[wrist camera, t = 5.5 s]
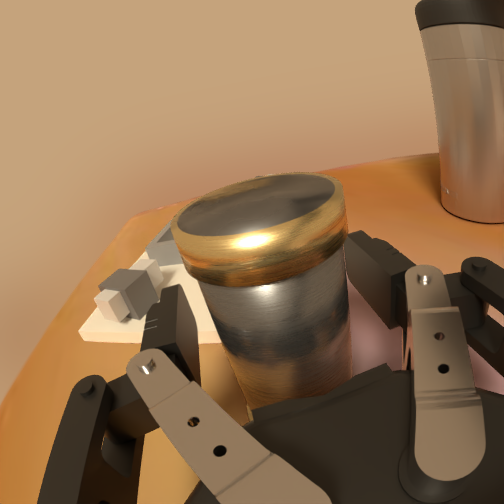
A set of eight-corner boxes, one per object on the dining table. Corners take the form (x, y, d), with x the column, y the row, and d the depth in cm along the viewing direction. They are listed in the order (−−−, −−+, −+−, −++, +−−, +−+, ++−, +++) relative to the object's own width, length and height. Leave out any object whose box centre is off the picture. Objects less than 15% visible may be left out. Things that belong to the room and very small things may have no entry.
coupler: (355, 369, 15) (335, 164, 10) (358, 453, 10) (353, 222, 6) (261, 375, 16) (201, 188, 11) (244, 455, 12) (139, 252, 7)
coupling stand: (289, 194, 41) (283, 167, 39) (258, 341, 18) (242, 291, 17) (190, 211, 44) (182, 187, 43) (84, 340, 22) (62, 303, 20)
